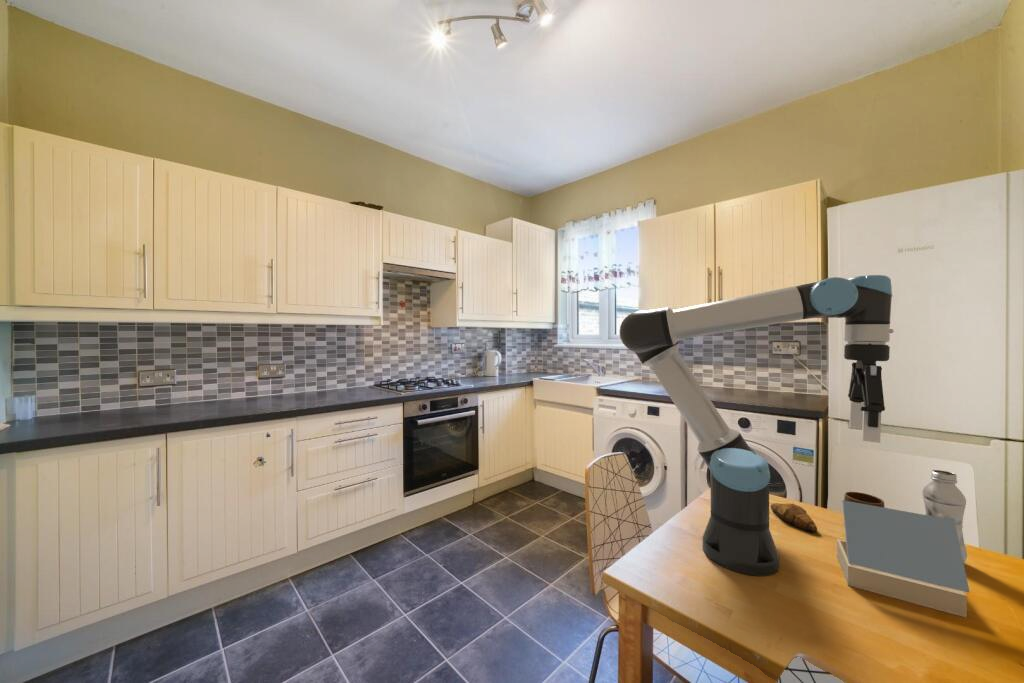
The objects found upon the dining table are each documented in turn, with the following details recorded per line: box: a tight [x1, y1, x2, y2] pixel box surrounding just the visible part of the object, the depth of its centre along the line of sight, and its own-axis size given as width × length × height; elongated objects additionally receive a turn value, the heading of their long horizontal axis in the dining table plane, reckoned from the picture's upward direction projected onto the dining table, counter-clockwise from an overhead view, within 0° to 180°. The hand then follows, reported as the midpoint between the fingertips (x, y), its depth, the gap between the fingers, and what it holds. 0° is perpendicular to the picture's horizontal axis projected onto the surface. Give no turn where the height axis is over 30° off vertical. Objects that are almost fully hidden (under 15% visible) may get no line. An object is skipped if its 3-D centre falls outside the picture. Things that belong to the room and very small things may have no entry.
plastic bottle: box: [921, 469, 968, 564], centre depth 83 cm, size 6×7×20 cm
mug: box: [843, 491, 886, 527], centre depth 92 cm, size 12×8×9 cm, turn 2°
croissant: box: [770, 502, 818, 533], centre depth 101 cm, size 14×7×5 cm, turn 7°
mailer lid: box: [841, 499, 970, 593], centre depth 72 cm, size 16×12×1 cm
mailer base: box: [836, 538, 968, 619], centre depth 75 cm, size 16×12×4 cm
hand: (863, 434), depth 85 cm, fingers open, 13 cm apart
